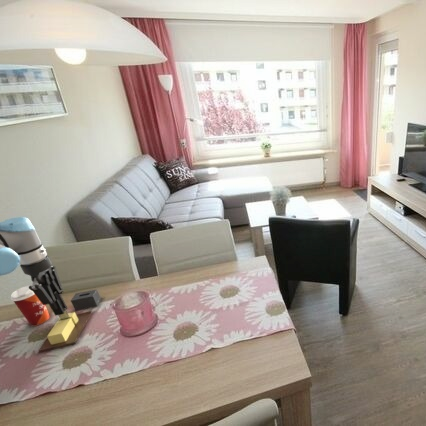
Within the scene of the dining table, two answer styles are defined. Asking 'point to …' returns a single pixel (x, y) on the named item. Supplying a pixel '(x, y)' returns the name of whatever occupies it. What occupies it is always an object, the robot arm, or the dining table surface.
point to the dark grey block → (86, 300)
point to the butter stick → (61, 331)
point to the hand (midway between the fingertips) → (61, 311)
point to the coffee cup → (30, 306)
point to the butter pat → (72, 317)
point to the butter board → (73, 335)
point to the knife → (65, 315)
